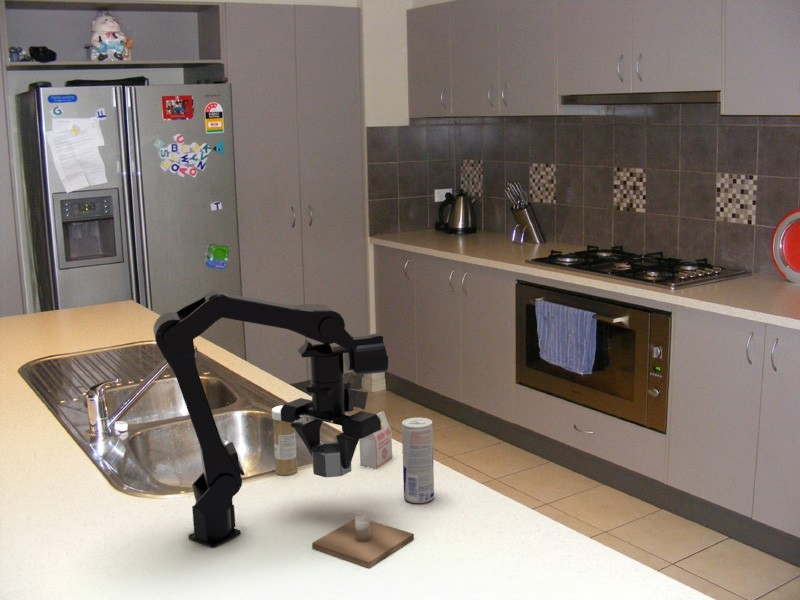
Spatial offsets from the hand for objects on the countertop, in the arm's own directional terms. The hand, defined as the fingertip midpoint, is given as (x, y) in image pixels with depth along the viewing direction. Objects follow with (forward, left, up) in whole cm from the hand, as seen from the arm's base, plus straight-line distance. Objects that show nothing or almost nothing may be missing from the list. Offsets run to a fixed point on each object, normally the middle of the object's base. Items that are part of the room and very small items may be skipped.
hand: (331, 464), depth 161 cm
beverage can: (+15, -8, -10) cm, 20 cm away
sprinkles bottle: (+11, +22, -10) cm, 27 cm away
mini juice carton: (+25, +10, -10) cm, 29 cm away
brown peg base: (-5, -11, -10) cm, 16 cm away
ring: (0, 0, -1) cm, 1 cm away
